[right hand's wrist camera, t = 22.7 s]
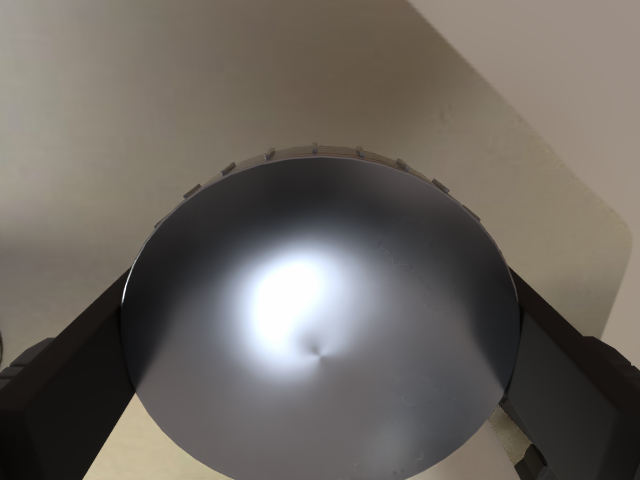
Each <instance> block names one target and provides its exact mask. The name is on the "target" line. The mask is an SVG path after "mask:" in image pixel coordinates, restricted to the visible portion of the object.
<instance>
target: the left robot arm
mask: <svg viewBox="0 0 640 480" xmlns="http://www.w3.org/2000/svg"><path fill="white" fill-rule="evenodd" d="M498 404H499V405H500V406H501V408H502V409H503V410H504V411H505V412H506V413H507V414H508V415H509V417H510V418H511V419H512V420H513V421H514V422H515V423H516V424H517V426H518V427H519V428H520V429H521V430H522V431H523V432H524V434H525V435H526V436H527V437H528V438H529V439H530V440H531V441H532V443H533V444H531V445H530V446H529V447H528V449H527V450H526V452H525V455H524V458H523V459H522V460H520V461H519V462H518V463H517V464H516V465H515V466H514V468H515V470H516V472H517V474H518V476H519V478H520V480H558V479H557V477H556V476H555V474H554V472H553V471H552V469H551V468H550V466H549V464H548V463H547V461H546V459H545V458H544V456H543V454H542V453H541V451H540V449H539V448H538V446H537V445H536V443H535V441H534V440H533V438H532V436H531V435H530V433H529V431H528V430H527V428H526V426H525V425H524V423H523V421H522V420H521V418H520V417H519V415H518V413H517V412H516V410H515V408H514V407H513V405H512V403H511V402H510V400H509V398H508V397H507V395H506V394H505V392H504V394H503V397H502V398H501V400H500V401H499V403H498Z"/></svg>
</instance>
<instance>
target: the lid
mask: <svg viewBox="0 0 640 480" xmlns="http://www.w3.org/2000/svg"><path fill="white" fill-rule="evenodd" d="M449 191H450V190H449V189H447V188H446V187H445V186H443V185H442V184H441V183H440V182H438V181H437V180H436V179H433V180H432V181H431V180H429V179H428V178H427V177H425V176H424V175H422V174H421V173H419V172H417V171H415V170H413V169H411V168H410V167H409V166H408V165H407V164H406V163H405V162H404V161H402V160H401V159H399V158H398V159H397V161H395V160H392V159H389V158H386V157H384V156H381V155H378V154H375V153H371V152H367V151H363V149H362V148H361V147H360V146H357V147H356V149H352V148H347V147H333V146H318V144H317V143H313V146H308V147H293V148H288V149H283V150H278V151H275V149H274V148H271V149H270V150H269V151H268V152H267V153H265V154H262V155H259V156H257V157H254V158H251V159H248V160H245V161H242V162H241V163H239V164H237V165H235V163H234V162H233V163H231V164H229V165H228V166H227V167H226V168H225V169H223V170H222V171H221V173H219V174H218V175H216V176H215V177H214V178H212V179H211V180H209V181H208V182H206V183H205V184H204V185H202V186H201V185H200V184H198V185H197V186H195V187H194V188H193V189H192V190H190V191H189V192H188V193H186V194H185V195H184V196H183V197H184V198H185V200H184V201H182V202H181V203H180V204H179V205H178V206H177V207H176V208H175V209H174V210H173V211H172V212H170V213H169V214H168V215H167V216H165V217H164V218H163V219H162V220H161V221H159V222H158V223H157V224H156V225H155V226H154V227H155V228H156V229H155V230H154V231H153V233H152V234H151V235H150V236H149V238H148V239H147V240H146V241H145V243H144V245H143V247H142V249H141V250H140V252H139V254H138V256H137V258H136V259H135V261H134V263H133V265H132V268H131V271H130V274H129V276H128V279H127V282H126V285H125V288H124V294H123V299H122V304H121V309H120V339H121V346H122V351H123V356H124V361H125V365H126V369H127V372H128V376H129V378H130V380H131V383H132V385H133V387H134V389H135V392H136V394H137V396H138V398H139V399H140V401H141V402H142V404H143V406H144V407H145V409H146V411H147V412H148V414H149V415H150V416H151V417H152V419H153V420H154V421H155V422H156V424H157V425H158V426H159V427H160V429H161V430H162V431H163V432H164V433H165V434H166V435H167V436H168V437H169V438H170V439H171V440H172V441H174V442H175V443H176V444H177V445H178V446H179V447H180V448H182V449H183V450H184V451H186V452H187V453H188V454H190V455H191V456H192V457H193V458H195V459H196V460H198V461H200V462H201V463H203V464H205V465H206V466H208V467H210V468H211V469H213V470H215V471H217V472H219V473H221V474H223V475H226V476H228V477H230V478H232V479H234V480H406V479H408V478H410V477H412V476H415V475H417V474H419V473H421V472H423V471H426V470H427V469H429V468H431V467H432V466H434V465H436V464H437V463H439V462H441V461H442V460H444V459H445V458H447V457H448V456H449V455H451V454H452V453H453V452H455V451H456V450H457V449H459V448H460V447H461V446H462V445H464V444H465V443H466V442H467V441H468V440H469V439H470V438H471V437H472V436H473V435H474V434H475V433H476V432H477V431H478V430H479V429H480V428H481V426H482V425H483V424H484V423H485V422H486V420H487V419H488V418H489V417H490V415H491V414H492V412H493V411H494V409H495V408H496V406H497V405H498V403H499V401H500V400H501V398H502V397H503V394H504V392H505V390H506V388H507V386H508V383H509V381H510V379H511V377H512V373H513V370H514V366H515V362H516V358H517V353H518V348H519V341H520V309H519V303H518V298H517V292H516V287H515V284H514V282H513V279H512V276H511V273H510V270H509V267H508V265H507V263H506V261H505V259H504V257H503V256H502V252H501V251H500V250H499V248H498V246H497V245H496V243H495V241H494V240H493V239H492V238H491V236H490V235H489V234H488V232H487V231H486V230H485V228H484V227H483V226H482V224H481V223H480V222H479V221H480V219H479V217H478V216H476V215H475V214H474V213H473V212H471V211H470V210H469V209H468V208H466V207H465V206H464V205H461V204H460V203H459V202H458V201H457V200H455V199H454V198H453V197H452V196H451V195H449V194H448V192H449Z"/></svg>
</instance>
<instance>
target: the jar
mask: <svg viewBox="0 0 640 480" xmlns="http://www.w3.org/2000/svg"><path fill="white" fill-rule="evenodd" d="M406 480H520V478H519V476H518V474H517V472H516V470H515V468H514V466H513V464H512V462H511V460H510V458H509V456H508V455H507V453H506V451H505V449H504V447H503V445H502V443H501V441H500V439H499V437H498V435H497V433H496V431H495V430H494V428H493V426H492V424H491V422H490V420H489V418H488V419H487V420H486V422H485V423H484V424H483V425H482V426H481V428H480V429H479V430H478V431H477V432H476V433H475V434H474V435H473V436H472V437H471V438H470V439H469V440H468V441H467V442H466V443H465V444H464V445H462V446H461V447H460V448H459V449H457V450H456V451H455V452H453V453H452V454H451V455H449V456H448V457H447V458H445V459H444V460H442V461H441V462H439V463H437V464H436V465H434V466H432V467H431V468H429V469H427V470H426V471H423V472H421V473H419V474H417V475H415V476H412V477H410V478H408V479H406Z"/></svg>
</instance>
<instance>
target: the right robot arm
mask: <svg viewBox="0 0 640 480" xmlns="http://www.w3.org/2000/svg"><path fill="white" fill-rule="evenodd" d="M508 267H509V266H508ZM131 268H132V266H131V267H130V268H129V269H128V270H127V271H126V272H125V273H124V274H123V275H122V276H121V277H120V278H119V279H118V280H116V281H115V282H114V283H113V284H112V285H111V286H110V287H109V288H108V289H107V290H106V291H105V292H104V293H103V294H102V295H101V296H99V297H98V298H97V299H96V300H95V301H94V302H93V303H92V304H91V305H90V306H89V307H88V308H87V309H86V310H85V311H84V312H82V313H81V314H80V315H79V316H78V317H77V318H76V319H75V320H74V321H73V322H72V323H71V324H70V325H69V326H68V327H66V328H65V329H64V330H63V331H62V332H61V333H60V334H59V335H58V336H57V337H56V338H46V339H45V340H43V341H41V342H39V343H38V344H36V345H34V346H32V347H30V348H29V349H27V350H25V351H24V352H23V353H22V354H21V355H20V356H19V357H18V358H16V359H15V360H14V361H13V362H12V363H11V364H10V367H6V368H5V369H4V370H3V371H2V372H1V373H0V480H82V479H83V478H84V476H85V475H86V473H87V471H88V470H89V468H90V466H91V465H92V463H93V461H94V460H95V458H96V456H97V455H98V453H99V452H100V450H101V448H102V447H103V445H104V443H105V442H106V440H107V438H108V437H109V435H110V433H111V432H112V430H113V429H114V427H115V425H116V424H117V422H118V420H119V419H120V417H121V415H122V414H123V412H124V410H125V409H126V407H127V405H128V404H129V402H130V401H131V399H132V397H133V396H134V394H135V389H134V387H133V385H132V383H131V380H130V378H129V376H128V372H127V369H126V365H125V361H124V356H123V351H122V346H121V339H120V309H121V304H122V299H123V294H124V288H125V285H126V282H127V279H128V276H129V274H130V271H131ZM509 270H510V273H511V276H512V279H513V282H514V284H515V287H516V292H517V298H518V303H519V309H520V341H519V348H518V353H517V358H516V362H515V366H514V370H513V373H512V377H511V379H510V381H509V383H508V386H507V388H506V390H505V394H506V395H507V397H508V398H509V400H510V402H511V403H512V405H513V407H514V408H515V410H516V412H517V413H518V415H519V417H520V418H521V420H522V421H523V423H524V425H525V426H526V428H527V430H528V431H529V433H530V435H531V436H532V438H533V440H534V441H535V443H536V445H537V446H538V448H539V449H540V451H541V453H542V454H543V456H544V458H545V459H546V461H547V463H548V464H549V466H550V468H551V469H552V471H553V472H554V474H555V476H556V477H557V479H558V480H640V370H638V369H637V368H636V367H635V366H631V362H629V361H628V360H627V359H626V358H625V357H624V356H623V355H621V354H620V353H619V352H618V351H617V350H616V349H615V348H613V347H611V346H609V345H607V344H606V343H604V342H602V341H600V340H598V339H597V338H595V337H593V336H582V335H581V334H580V333H579V332H578V331H577V330H576V329H575V328H574V327H573V326H572V325H571V324H570V323H568V322H567V321H566V320H565V319H564V318H563V317H562V316H561V315H560V314H559V313H558V312H557V311H556V310H555V309H554V308H553V307H551V306H550V305H549V304H548V303H547V302H546V301H545V300H544V299H543V298H542V297H541V296H540V295H539V294H538V293H537V292H535V291H534V290H533V289H532V288H531V287H530V286H529V285H528V284H527V283H526V282H525V281H524V280H523V279H522V278H521V277H520V276H518V275H517V274H516V273H515V272H514V271H513V270H512V269H511V268H510V267H509ZM0 359H1V345H0Z"/></svg>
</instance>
